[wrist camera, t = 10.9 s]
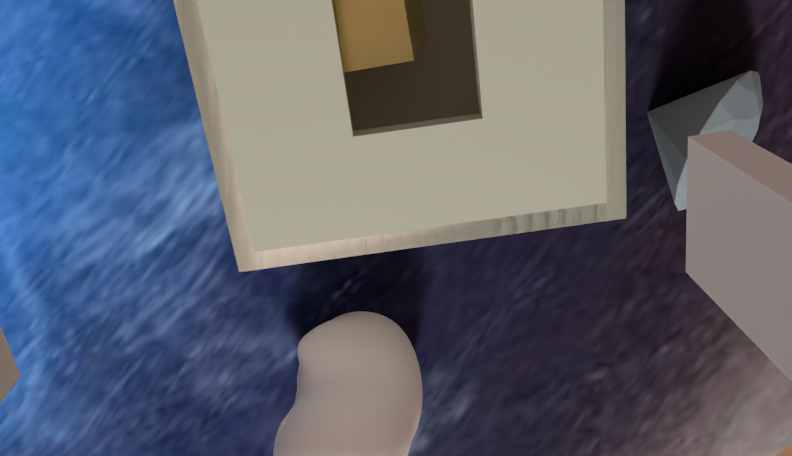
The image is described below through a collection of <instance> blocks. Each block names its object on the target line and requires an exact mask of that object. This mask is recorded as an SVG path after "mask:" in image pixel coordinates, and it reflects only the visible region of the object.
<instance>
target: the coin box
mask: <svg viewBox="0 0 792 456" xmlns="http://www.w3.org/2000/svg"><path fill="white" fill-rule="evenodd" d="M173 1H174V5H175V10H176V14H177V18H178V22H179V26H180V30H181V34H182V38H183V43H184V47H185V51H186V55H187V59H188V63H189V67H190V71H191V76H192V80H193V84H194V88H195V92H196V96H197V100H198V104H199V109H200V113H201V117H202V121H203V125H204V129H205V133H206V137H207V142H208V146H209V150H210V154H211V158H212V162H213V166H214V170H215V175H216V179H217V183H218V187H219V191H220V195H221V199H222V203H223V208H224V212H225V216H226V220H227V224H228V228H229V232H230V236H231V241H232V245H233V249H234V253H235V257H236V261H237V265H238V269H239V272H244V271H251V270H258V269H265V268H273V267H280V266H287V265H294V264H301V263H308V262H316V261H323V260H330V259H337V258H344V257H351V256H359V255H366V254H373V253H380V252H387V251H394V250H402V249H409V248H416V247H423V246H430V245H437V244H445V243H452V242H459V241H466V240H473V239H480V238H488V237H495V236H502V235H509V234H516V233H523V232H531V231H538V230H545V229H552V228H559V227H566V226H574V225H581V224H588V223H595V222H602V221H609V220H617V219H624V218H626V105H625V0H421V3H422V9H423V15H424V21H425V28H426V34H427V40H428V42H427V44H426V45H425V46H424V48H423V49H422V50H421V52H420V53H419V55H418V56H417V57H416V59H415V60H414V61H409V62H403V63H397V64H391V65H385V66H379V67H374V68H368V69H362V70H356V71H350V72H344V70H343V63H342V57H341V51H340V45H339V38H338V32H337V26H336V20H335V13H334V7H333V1H332V0H173Z"/></svg>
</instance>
